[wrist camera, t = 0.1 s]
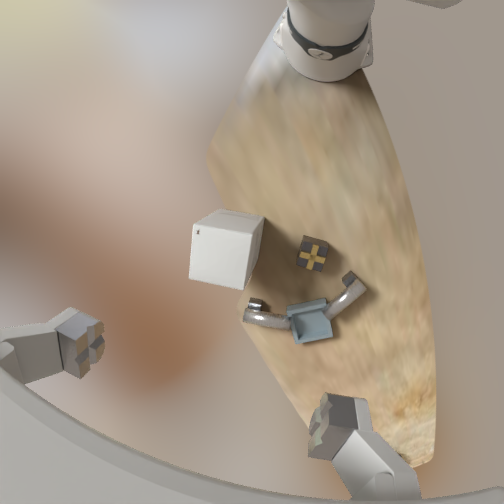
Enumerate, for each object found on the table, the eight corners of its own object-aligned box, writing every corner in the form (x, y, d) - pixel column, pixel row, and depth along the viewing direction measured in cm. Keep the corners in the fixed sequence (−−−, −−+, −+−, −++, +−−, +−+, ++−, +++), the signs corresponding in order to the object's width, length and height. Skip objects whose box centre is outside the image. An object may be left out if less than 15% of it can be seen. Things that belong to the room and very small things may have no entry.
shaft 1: (293, 305, 60) (292, 317, 56) (288, 324, 62) (287, 337, 57) (249, 297, 61) (244, 308, 57) (246, 315, 63) (241, 327, 58)
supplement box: (213, 252, 60) (186, 279, 46) (219, 207, 57) (191, 222, 43) (258, 261, 59) (243, 292, 45) (266, 216, 56) (253, 234, 42)
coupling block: (303, 235, 56) (303, 241, 51) (326, 241, 56) (328, 248, 51) (297, 257, 58) (296, 266, 53) (319, 263, 57) (321, 272, 52)
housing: (287, 306, 61) (286, 311, 58) (325, 297, 59) (325, 303, 57) (295, 338, 62) (295, 344, 60) (332, 330, 61) (333, 336, 58)
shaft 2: (332, 313, 60) (333, 325, 55) (317, 299, 59) (318, 310, 54) (365, 284, 57) (370, 294, 52) (351, 269, 56) (355, 278, 52)
